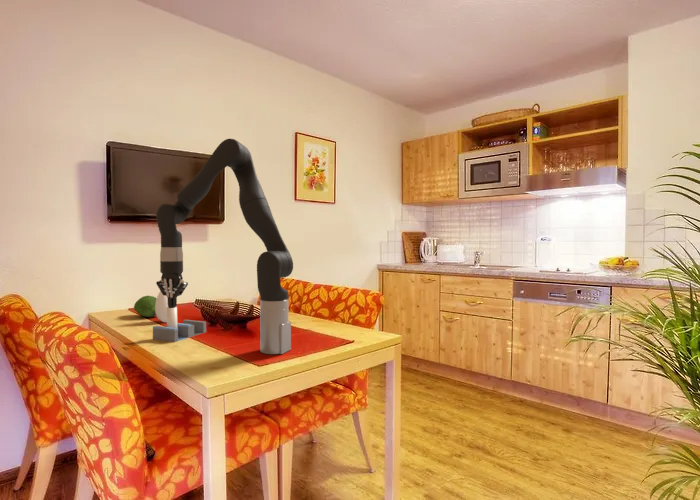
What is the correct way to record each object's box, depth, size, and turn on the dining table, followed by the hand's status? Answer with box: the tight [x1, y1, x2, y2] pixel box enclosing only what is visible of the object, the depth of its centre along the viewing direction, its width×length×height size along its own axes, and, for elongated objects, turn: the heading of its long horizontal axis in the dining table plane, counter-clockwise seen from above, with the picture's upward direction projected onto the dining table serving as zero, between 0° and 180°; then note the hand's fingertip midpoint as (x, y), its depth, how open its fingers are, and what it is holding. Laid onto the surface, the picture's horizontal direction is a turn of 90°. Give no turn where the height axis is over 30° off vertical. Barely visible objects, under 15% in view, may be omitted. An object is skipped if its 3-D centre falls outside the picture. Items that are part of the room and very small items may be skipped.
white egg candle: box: [155, 290, 168, 323], centre depth 176 cm, size 8×8×18 cm
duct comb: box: [152, 319, 207, 343], centre depth 148 cm, size 10×16×6 cm, turn 160°
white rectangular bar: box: [166, 306, 178, 328], centre depth 145 cm, size 4×4×11 cm
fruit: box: [133, 295, 157, 318], centre depth 187 cm, size 15×10×10 cm, turn 54°
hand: (172, 307), depth 144 cm, fingers closed
